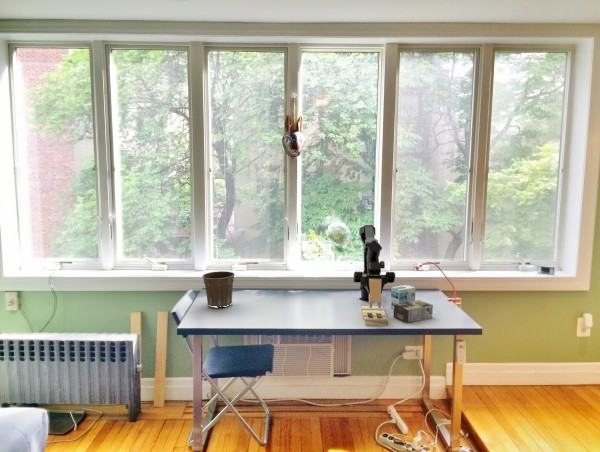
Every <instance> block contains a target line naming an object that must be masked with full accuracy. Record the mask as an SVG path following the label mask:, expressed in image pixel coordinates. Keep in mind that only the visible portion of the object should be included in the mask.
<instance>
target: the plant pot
mask: <svg viewBox="0 0 600 452" xmlns="http://www.w3.org/2000/svg"><path fill="white" fill-rule="evenodd" d="M235 275H236V274H235V272H233V271H225V270H223V271H211V272H207V273H204V274H202V278H203V283H204V286H205V293H206V294H205V295H206V299H207V300H206V301H207V306H208V305H210V306H217V307H220V306H227V305H230V304H231V303H232V304H233V287H234V279H235ZM230 306H231V305H230ZM220 308H221V307H220Z"/></svg>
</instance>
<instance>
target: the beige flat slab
mask: <svg viewBox="0 0 600 452" xmlns="http://www.w3.org/2000/svg"><path fill="white" fill-rule="evenodd" d="M360 312H361V315H362V316H361V317H362V320H363V322H364V326H367V327H369V326H371V327H372V326H374V327H375V326H378V327H380V326H381V327H388V326H389V320H388V317H387V315H386V312H385V310H384V308H383V306H382V304H381V308H378V304H372V308H370V307H369V304H361V305H360Z"/></svg>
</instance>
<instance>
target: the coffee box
mask: <svg viewBox="0 0 600 452" xmlns="http://www.w3.org/2000/svg"><path fill="white" fill-rule="evenodd" d="M433 309H434V304H432V303H429V302H426V301H424V300H421V299H415V301H410V302H405V303H400V304H395V305H394V309H393V318H395V319H397V320H399V321H401V322H404V323H405V324H409V323H412V322H413V323H414V322H417V321H421V320H426V319H427V320H428V319H430V318H433Z"/></svg>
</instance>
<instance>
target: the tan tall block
mask: <svg viewBox="0 0 600 452" xmlns="http://www.w3.org/2000/svg"><path fill="white" fill-rule="evenodd" d="M369 288H370V294H369V302H368V305H369V307H370V308H372V305H373V302H377V305H378V308H381V305H382V294H381V279H369Z"/></svg>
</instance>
